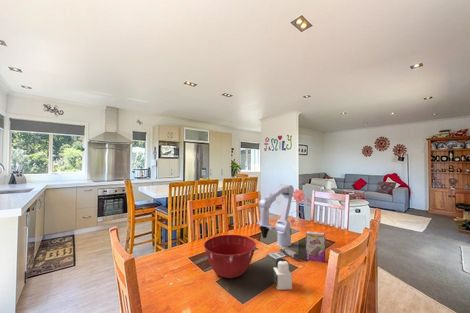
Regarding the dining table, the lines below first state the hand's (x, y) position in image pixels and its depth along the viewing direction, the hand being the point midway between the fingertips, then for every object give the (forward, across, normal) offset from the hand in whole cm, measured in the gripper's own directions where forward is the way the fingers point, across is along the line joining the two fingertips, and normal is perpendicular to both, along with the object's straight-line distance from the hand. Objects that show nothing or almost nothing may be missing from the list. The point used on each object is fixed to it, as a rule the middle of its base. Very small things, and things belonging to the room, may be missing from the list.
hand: (264, 237), depth 140 cm
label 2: (+9, +9, +6) cm, 14 cm away
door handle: (+8, +14, +9) cm, 19 cm away
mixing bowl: (+10, +11, -33) cm, 36 cm away
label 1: (+9, +9, +1) cm, 13 cm away
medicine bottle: (+10, +35, -17) cm, 40 cm away
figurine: (+10, -33, +69) cm, 77 cm away
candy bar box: (+10, +25, +20) cm, 33 cm away
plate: (+9, +9, +3) cm, 13 cm away
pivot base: (+9, +9, +10) cm, 16 cm away
